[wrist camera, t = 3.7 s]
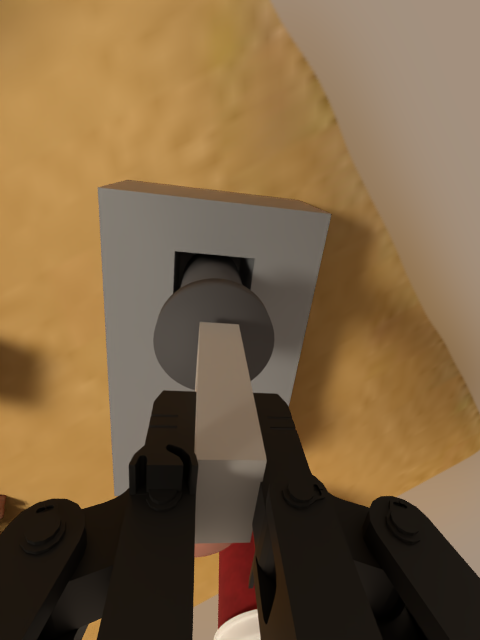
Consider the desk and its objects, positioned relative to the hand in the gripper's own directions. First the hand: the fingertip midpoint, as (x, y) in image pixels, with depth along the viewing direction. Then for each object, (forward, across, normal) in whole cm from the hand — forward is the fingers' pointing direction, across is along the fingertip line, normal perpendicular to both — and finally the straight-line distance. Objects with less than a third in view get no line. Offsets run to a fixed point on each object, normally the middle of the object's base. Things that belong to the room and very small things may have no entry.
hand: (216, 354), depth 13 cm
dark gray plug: (+9, 0, 0) cm, 9 cm away
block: (+14, 0, -6) cm, 15 cm away
